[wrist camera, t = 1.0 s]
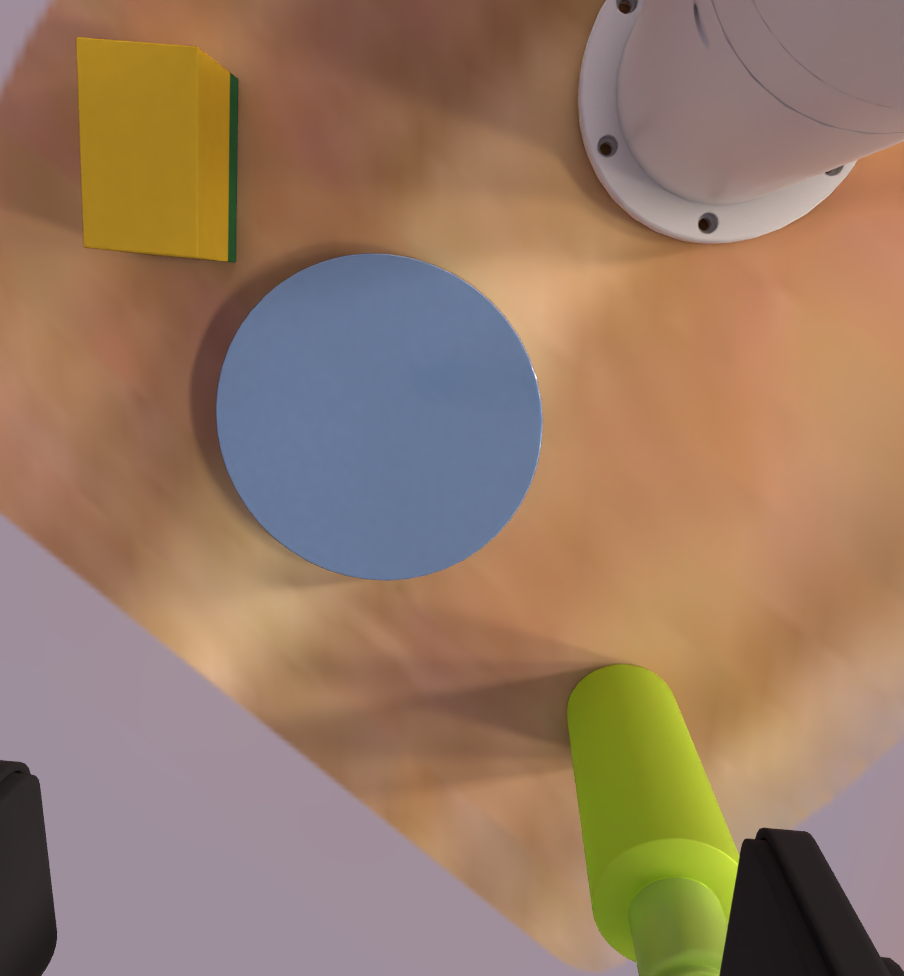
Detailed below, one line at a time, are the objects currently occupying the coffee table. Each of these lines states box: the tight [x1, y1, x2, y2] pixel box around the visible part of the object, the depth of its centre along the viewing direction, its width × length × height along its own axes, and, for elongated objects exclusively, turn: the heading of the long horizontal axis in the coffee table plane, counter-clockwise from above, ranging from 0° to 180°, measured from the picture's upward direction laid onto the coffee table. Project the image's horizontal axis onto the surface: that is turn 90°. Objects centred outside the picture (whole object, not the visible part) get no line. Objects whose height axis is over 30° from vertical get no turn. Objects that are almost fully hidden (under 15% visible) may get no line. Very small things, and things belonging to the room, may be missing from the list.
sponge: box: [76, 37, 238, 263], centre depth 32 cm, size 8×5×4 cm, turn 175°
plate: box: [216, 253, 543, 580], centre depth 36 cm, size 16×16×1 cm
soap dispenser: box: [567, 664, 740, 976], centre depth 30 cm, size 6×7×20 cm
